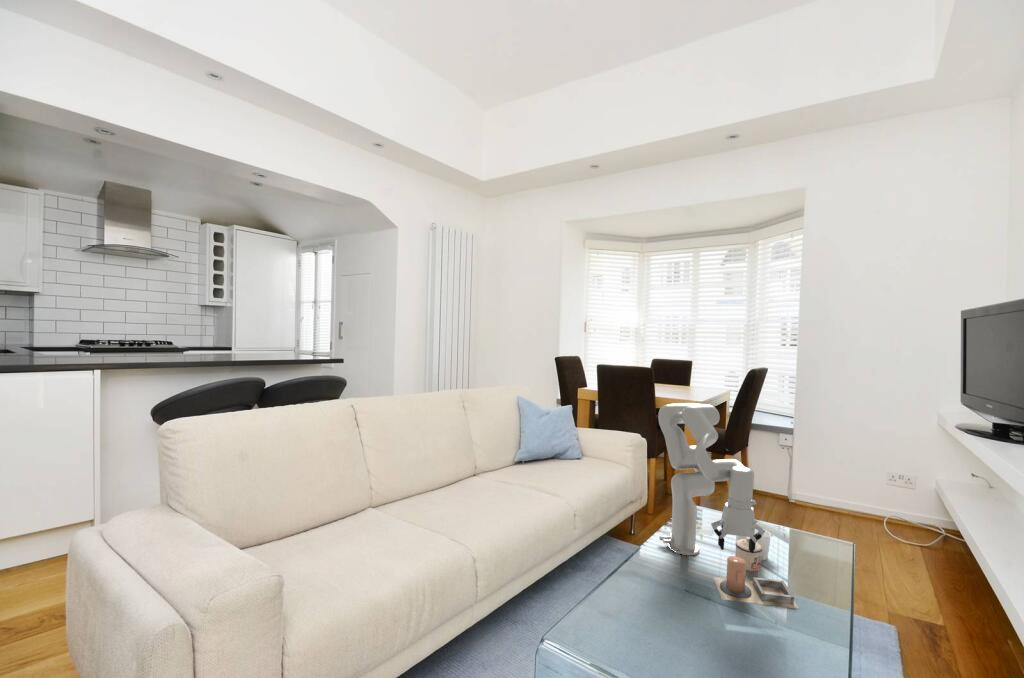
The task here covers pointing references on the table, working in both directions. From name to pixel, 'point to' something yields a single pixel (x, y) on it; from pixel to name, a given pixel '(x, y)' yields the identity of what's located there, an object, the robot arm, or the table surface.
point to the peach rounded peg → (736, 574)
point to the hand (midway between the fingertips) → (736, 549)
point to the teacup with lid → (749, 554)
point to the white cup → (764, 544)
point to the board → (759, 592)
